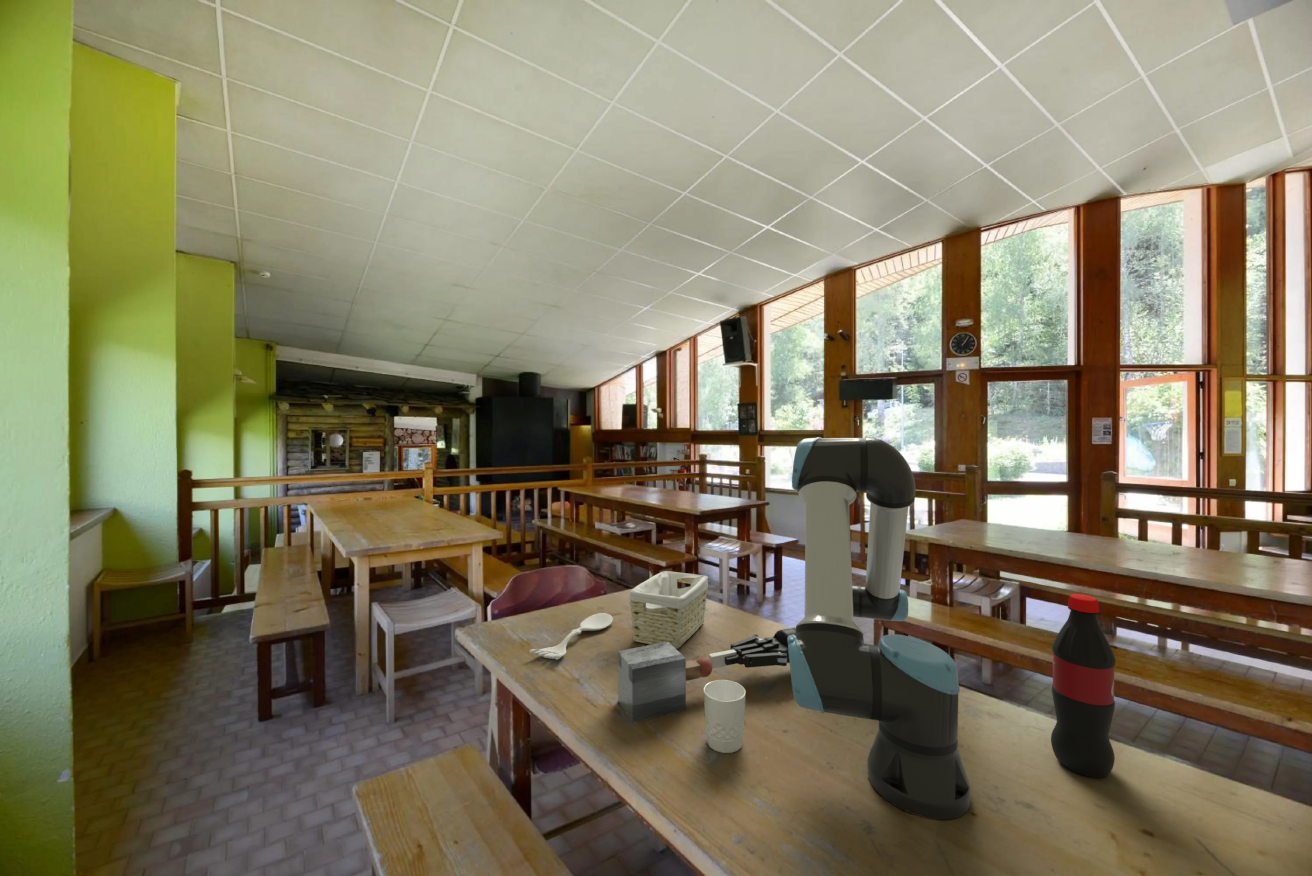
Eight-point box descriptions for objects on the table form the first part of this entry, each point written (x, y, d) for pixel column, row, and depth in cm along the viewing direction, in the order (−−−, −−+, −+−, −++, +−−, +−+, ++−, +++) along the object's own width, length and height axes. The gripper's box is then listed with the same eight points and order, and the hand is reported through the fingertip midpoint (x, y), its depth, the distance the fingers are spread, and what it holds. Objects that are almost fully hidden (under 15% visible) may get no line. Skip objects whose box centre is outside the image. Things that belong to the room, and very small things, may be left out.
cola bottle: (1114, 765, 88) (1116, 595, 87) (1114, 790, 82) (1116, 608, 81) (1053, 744, 94) (1054, 585, 93) (1048, 767, 87) (1050, 596, 87)
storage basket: (662, 614, 160) (662, 568, 160) (710, 622, 153) (710, 574, 153) (627, 643, 139) (626, 590, 138) (681, 654, 132) (681, 599, 131)
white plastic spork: (527, 662, 128) (527, 649, 128) (593, 619, 157) (593, 608, 157) (557, 669, 124) (556, 655, 124) (618, 623, 153) (618, 612, 153)
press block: (668, 689, 114) (668, 641, 114) (685, 710, 106) (685, 658, 105) (618, 700, 109) (618, 651, 109) (632, 723, 101) (632, 669, 101)
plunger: (706, 670, 115) (706, 653, 115) (715, 678, 111) (715, 661, 111) (652, 682, 110) (652, 664, 109) (659, 691, 106) (659, 672, 106)
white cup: (745, 758, 90) (745, 703, 90) (701, 753, 92) (701, 699, 91) (746, 732, 98) (746, 681, 98) (705, 727, 99) (705, 677, 99)
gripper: (812, 671, 117) (724, 691, 108) (779, 648, 129) (697, 665, 120) (812, 639, 117) (724, 657, 108) (779, 619, 129) (697, 634, 120)
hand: (710, 661), depth 114 cm, fingers closed
